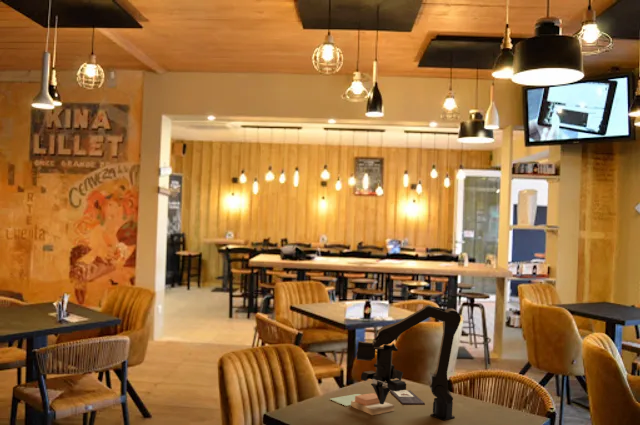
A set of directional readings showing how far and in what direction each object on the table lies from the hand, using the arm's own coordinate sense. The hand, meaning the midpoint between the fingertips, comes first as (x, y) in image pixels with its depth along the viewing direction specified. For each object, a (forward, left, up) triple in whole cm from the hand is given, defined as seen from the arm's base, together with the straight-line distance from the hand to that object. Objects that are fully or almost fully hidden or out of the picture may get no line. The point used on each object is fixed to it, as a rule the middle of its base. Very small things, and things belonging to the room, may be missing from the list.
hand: (381, 403), depth 227 cm
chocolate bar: (+9, -23, -4) cm, 24 cm away
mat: (+16, 0, -3) cm, 17 cm away
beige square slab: (+5, 0, -3) cm, 6 cm away
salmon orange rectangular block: (+7, 0, -1) cm, 7 cm away
